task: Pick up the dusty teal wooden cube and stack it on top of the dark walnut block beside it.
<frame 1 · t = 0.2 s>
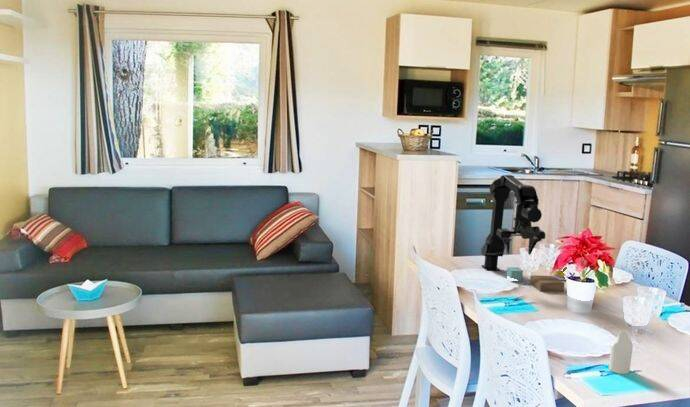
hand: (518, 254, 252), 14 cm above the table, tool pointing down, fingers open, 9 cm apart
teal cube: (513, 280, 265), on the table
beige bottle: (618, 370, 180), on the table
walnut block: (546, 288, 256), on the table
supplement bottle: (561, 278, 271), on the table
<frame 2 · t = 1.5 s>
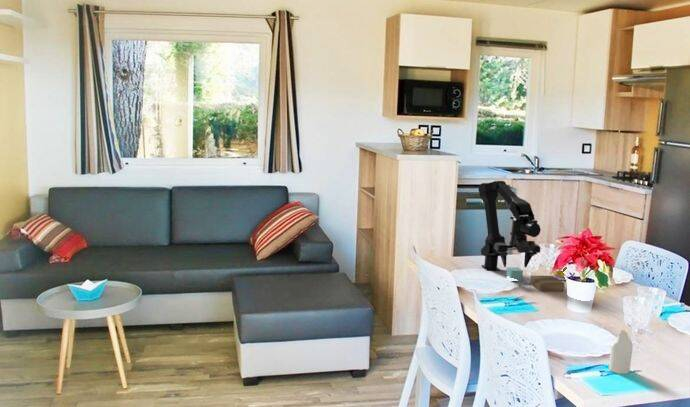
hand: (515, 267, 264), 6 cm above the table, tool pointing down, fingers open, 9 cm apart
nothing on the table moved.
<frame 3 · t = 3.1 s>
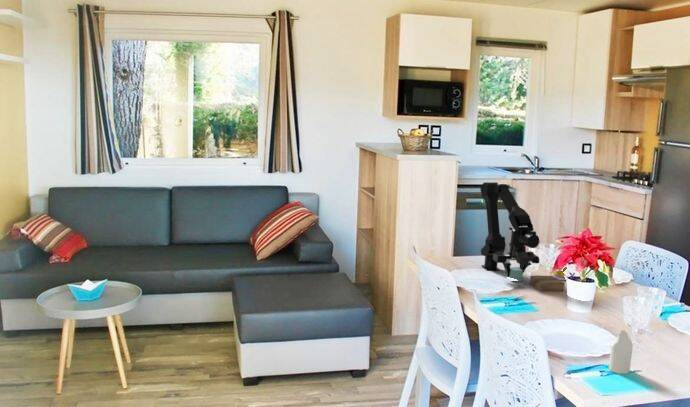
hand: (514, 277, 264), 1 cm above the table, tool pointing down, fingers closed on teal cube, 5 cm apart
teal cube: (513, 280, 265), on the table, touching gripper
everything else where it was.
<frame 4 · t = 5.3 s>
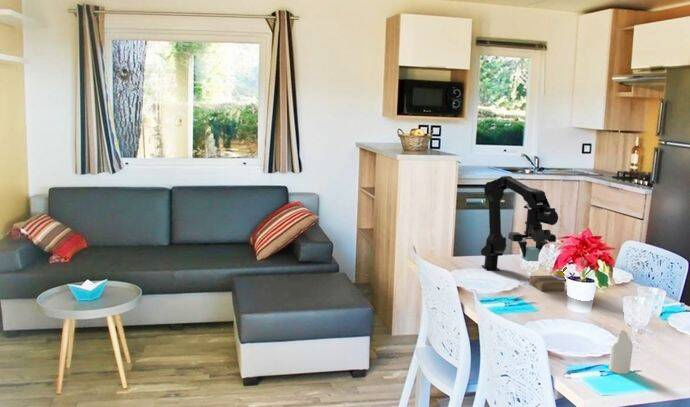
hand: (530, 257, 259), 11 cm above the table, tool pointing down, fingers closed on teal cube, 5 cm apart
teal cube: (529, 259, 259), point 10 cm above the table, touching gripper
everything else where it was.
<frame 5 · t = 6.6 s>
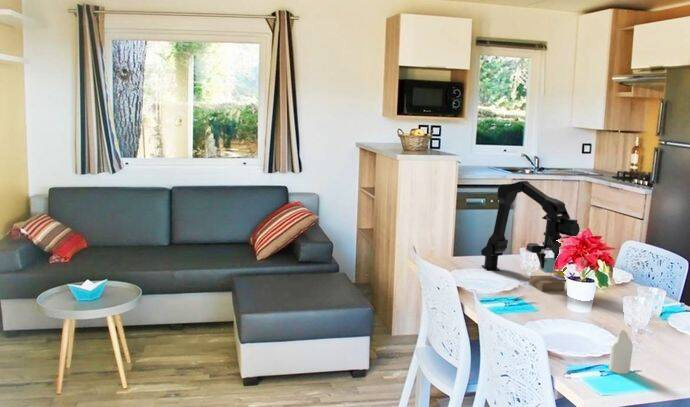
hand: (548, 268, 255), 8 cm above the table, tool pointing down, fingers closed on teal cube, 5 cm apart
teal cube: (548, 271, 255), point 7 cm above the table, touching gripper
everything else where it was.
when the fingers open (6 cm above the table, at t = 7.7 s): teal cube drops 2 cm, resting on walnut block.
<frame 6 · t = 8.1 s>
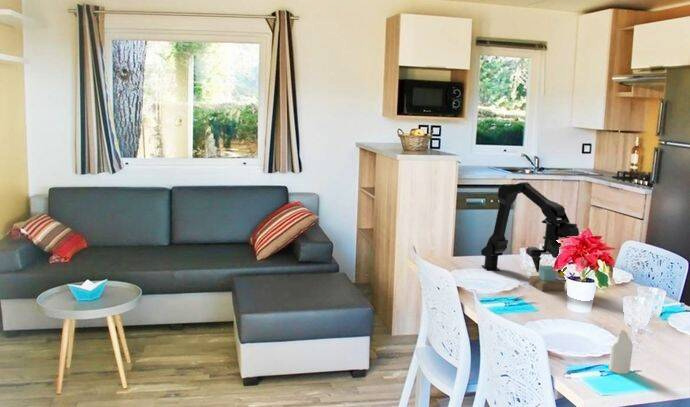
hand: (548, 272, 255), 6 cm above the table, tool pointing down, fingers open, 9 cm apart
teal cube: (547, 279, 256), point 4 cm above the table, touching walnut block
walnut block: (546, 288, 256), on the table, touching teal cube
everything else where it was.
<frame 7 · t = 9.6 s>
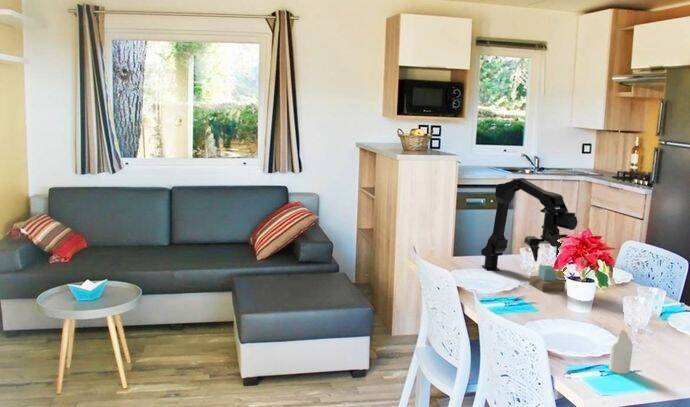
hand: (546, 261, 255), 11 cm above the table, tool pointing down, fingers open, 9 cm apart
nothing on the table moved.
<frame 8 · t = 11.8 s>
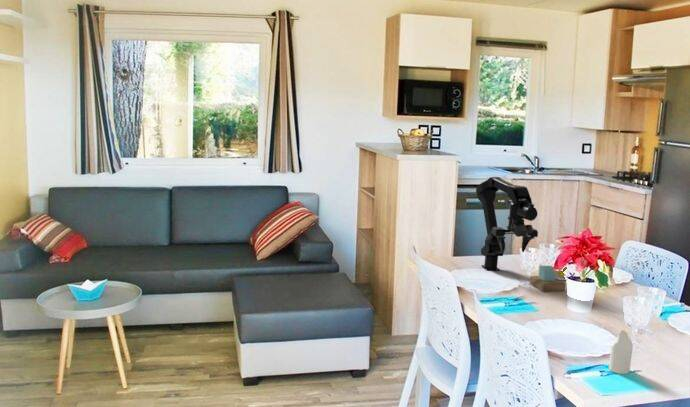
hand: (512, 251, 264), 12 cm above the table, tool pointing down, fingers open, 9 cm apart
teal cube: (546, 279, 256), point 4 cm above the table
walnut block: (546, 288, 256), on the table
everything else where it was.
at the end: teal cube inside the target area on the walnut block (0.5 cm from its centre), point 4.0 cm above the walnut block's base; teal cube tilted 0°; the gripper is holding nothing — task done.
